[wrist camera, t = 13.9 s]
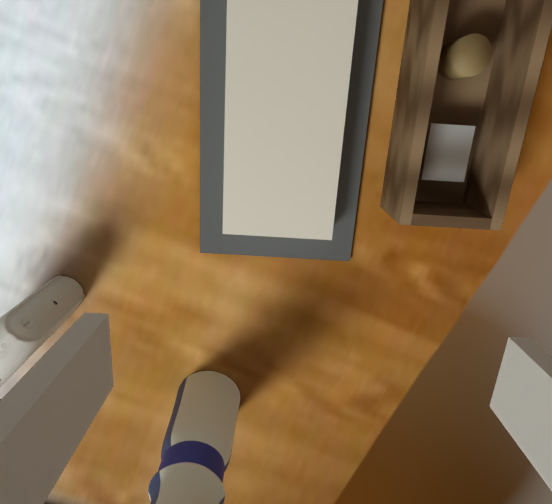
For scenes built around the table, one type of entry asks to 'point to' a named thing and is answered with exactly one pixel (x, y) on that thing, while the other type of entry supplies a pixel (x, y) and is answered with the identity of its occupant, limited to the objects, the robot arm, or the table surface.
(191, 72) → the table surface
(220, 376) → the water bottle
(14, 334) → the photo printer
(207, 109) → the rubber mat
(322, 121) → the lid
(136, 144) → the table surface
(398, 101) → the walnut box
